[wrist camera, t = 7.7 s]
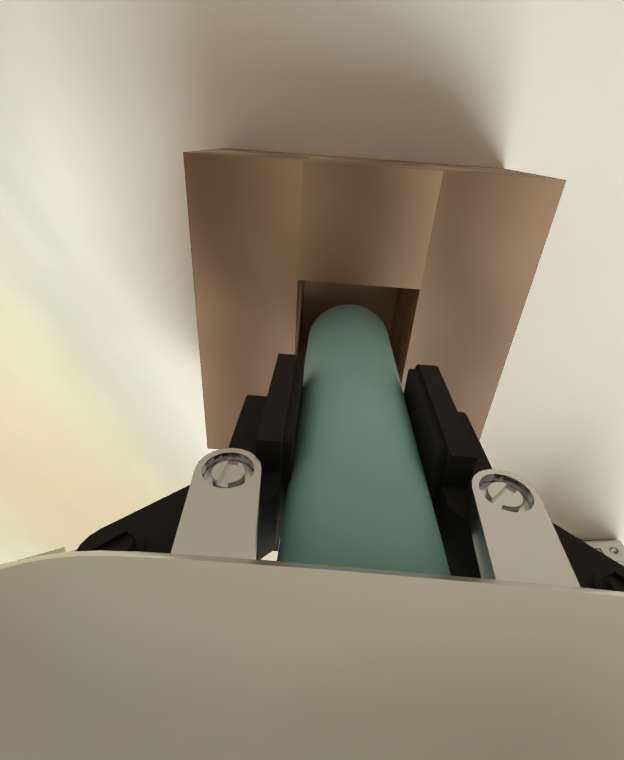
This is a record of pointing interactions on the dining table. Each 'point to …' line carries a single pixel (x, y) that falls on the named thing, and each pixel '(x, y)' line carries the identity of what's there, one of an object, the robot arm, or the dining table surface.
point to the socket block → (359, 265)
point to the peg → (357, 457)
